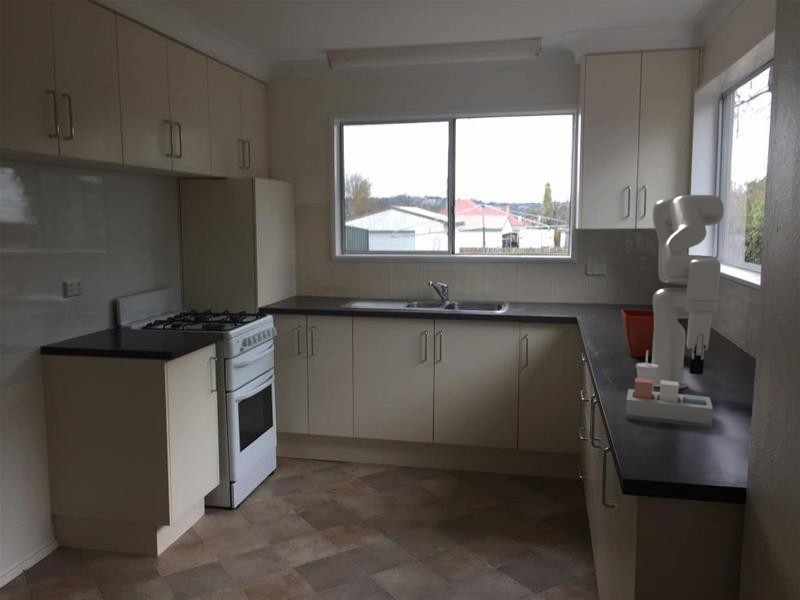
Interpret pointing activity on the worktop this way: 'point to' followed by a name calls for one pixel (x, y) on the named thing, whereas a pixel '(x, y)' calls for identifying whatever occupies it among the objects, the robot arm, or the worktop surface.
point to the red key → (643, 388)
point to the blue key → (695, 399)
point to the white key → (669, 391)
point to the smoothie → (647, 370)
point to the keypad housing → (669, 410)
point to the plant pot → (638, 331)
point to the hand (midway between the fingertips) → (695, 373)
